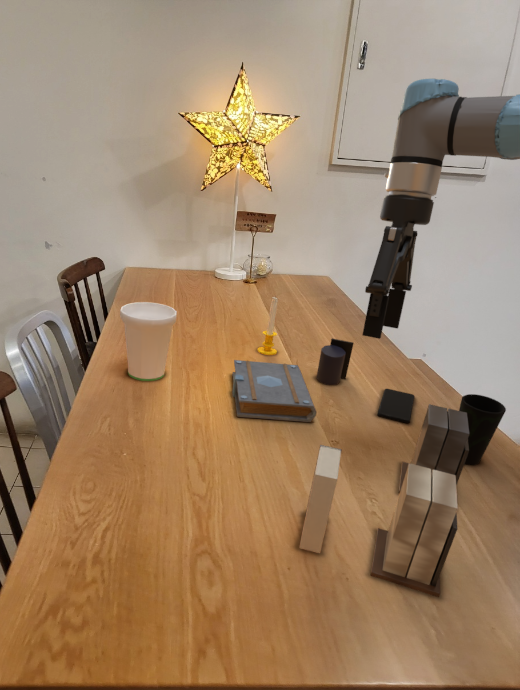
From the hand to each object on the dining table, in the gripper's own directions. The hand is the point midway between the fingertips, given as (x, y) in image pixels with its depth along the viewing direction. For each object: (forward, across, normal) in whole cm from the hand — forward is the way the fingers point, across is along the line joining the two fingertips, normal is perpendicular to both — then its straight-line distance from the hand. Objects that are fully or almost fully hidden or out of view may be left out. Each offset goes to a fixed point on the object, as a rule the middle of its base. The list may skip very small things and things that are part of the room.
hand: (381, 331), depth 90 cm
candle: (+18, -41, -36) cm, 57 cm away
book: (+22, -16, -24) cm, 36 cm away
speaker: (+20, -34, -16) cm, 43 cm away
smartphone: (+21, -31, +1) cm, 38 cm away
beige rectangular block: (+28, +21, 0) cm, 35 cm away
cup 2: (+24, -18, +17) cm, 34 cm away
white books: (+29, +19, +14) cm, 37 cm away
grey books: (+26, -3, +12) cm, 29 cm away
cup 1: (+21, -8, -52) cm, 57 cm away
